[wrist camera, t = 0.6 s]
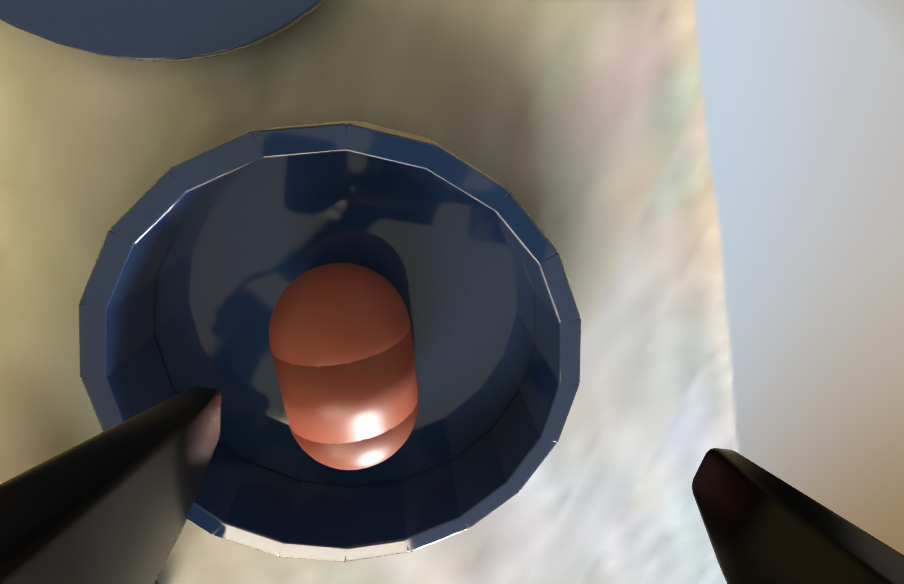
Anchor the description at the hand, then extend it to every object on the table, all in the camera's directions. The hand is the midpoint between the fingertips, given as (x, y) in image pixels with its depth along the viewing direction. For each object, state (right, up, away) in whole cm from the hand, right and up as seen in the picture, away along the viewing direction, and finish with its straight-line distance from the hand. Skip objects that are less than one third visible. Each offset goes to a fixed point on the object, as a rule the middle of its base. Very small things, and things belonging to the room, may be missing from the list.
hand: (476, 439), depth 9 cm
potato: (-5, +1, +12) cm, 13 cm away
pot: (-5, +1, +12) cm, 13 cm away
